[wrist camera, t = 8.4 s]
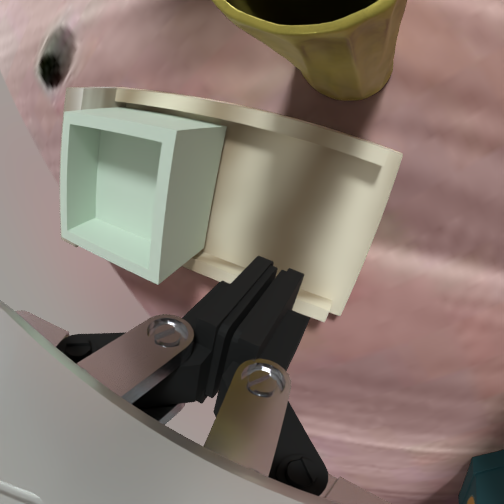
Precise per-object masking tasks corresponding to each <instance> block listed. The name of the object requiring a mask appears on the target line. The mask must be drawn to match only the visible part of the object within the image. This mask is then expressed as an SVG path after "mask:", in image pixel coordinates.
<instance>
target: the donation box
mask: <svg viewBox="0 0 504 504" xmlns="http://www.w3.org/2000/svg"><path fill="white" fill-rule="evenodd" d="M459 504H504V450H501V451H497V452H493V453H489V454H485V455H480V456H476V457H472V460H471V463H470V466H469V469H468V472H467V475H466V478H465V480H464V483H463V486H462V488H461V491H460V493H459Z"/></svg>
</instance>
